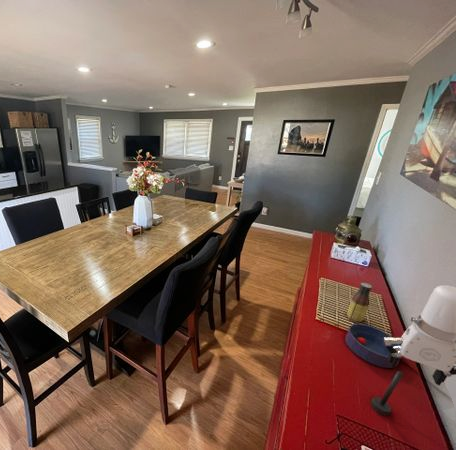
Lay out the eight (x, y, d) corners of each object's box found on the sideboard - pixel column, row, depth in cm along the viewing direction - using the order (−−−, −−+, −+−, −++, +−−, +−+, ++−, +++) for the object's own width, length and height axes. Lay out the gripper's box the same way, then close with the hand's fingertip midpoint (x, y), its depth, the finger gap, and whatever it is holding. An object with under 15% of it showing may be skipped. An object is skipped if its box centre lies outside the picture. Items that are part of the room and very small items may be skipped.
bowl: (408, 365, 94) (415, 354, 92) (374, 372, 91) (380, 361, 88) (365, 331, 109) (370, 321, 107) (335, 336, 106) (339, 326, 104)
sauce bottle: (364, 322, 115) (380, 288, 107) (356, 325, 113) (371, 291, 105) (350, 313, 120) (364, 280, 113) (342, 316, 118) (355, 282, 111)
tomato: (354, 336, 103) (356, 344, 101) (362, 335, 101) (364, 343, 99) (358, 339, 104) (360, 346, 102) (366, 338, 102) (368, 345, 100)
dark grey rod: (392, 414, 77) (415, 377, 71) (381, 416, 76) (403, 380, 70) (377, 399, 81) (398, 363, 75) (366, 401, 81) (386, 366, 74)
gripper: (397, 323, 67) (377, 367, 73) (493, 353, 58) (460, 399, 64) (392, 308, 73) (373, 349, 79) (478, 333, 64) (449, 377, 70)
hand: (412, 372), depth 72 cm, fingers open, 9 cm apart
